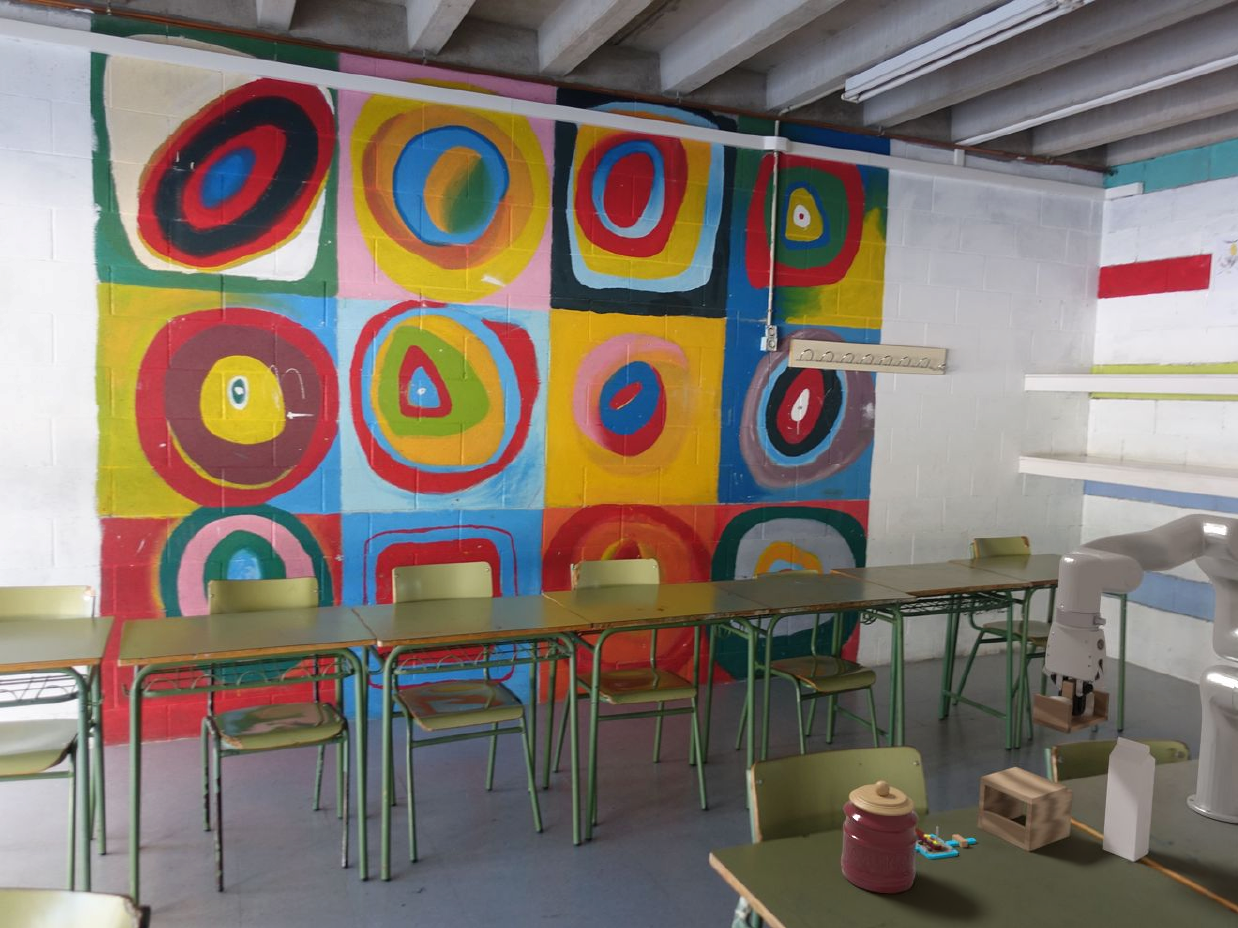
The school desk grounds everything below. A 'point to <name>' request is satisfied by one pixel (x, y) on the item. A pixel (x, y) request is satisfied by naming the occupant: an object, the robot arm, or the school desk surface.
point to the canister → (879, 839)
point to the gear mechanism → (940, 844)
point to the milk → (1129, 800)
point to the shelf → (1006, 801)
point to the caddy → (1070, 709)
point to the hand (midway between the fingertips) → (1071, 711)
